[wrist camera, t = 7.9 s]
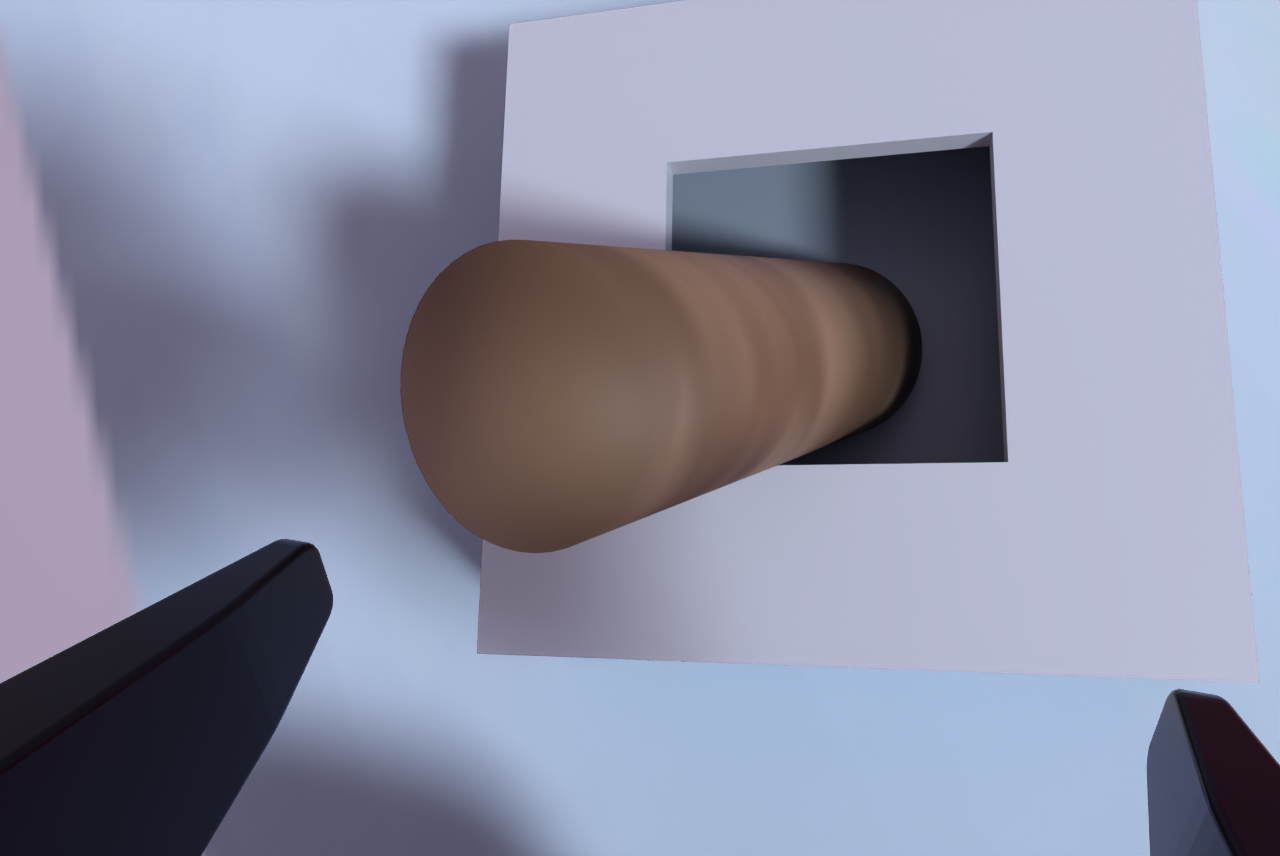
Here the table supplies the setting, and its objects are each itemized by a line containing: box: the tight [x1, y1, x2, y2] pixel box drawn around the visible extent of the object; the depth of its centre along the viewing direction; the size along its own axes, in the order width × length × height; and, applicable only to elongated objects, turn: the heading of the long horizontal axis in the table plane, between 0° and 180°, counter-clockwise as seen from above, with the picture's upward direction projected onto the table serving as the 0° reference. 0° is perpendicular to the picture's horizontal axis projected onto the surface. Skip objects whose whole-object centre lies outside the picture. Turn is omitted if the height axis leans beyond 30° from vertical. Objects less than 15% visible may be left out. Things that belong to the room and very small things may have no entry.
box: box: [477, 0, 1259, 683], centre depth 21 cm, size 14×14×5 cm
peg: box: [401, 239, 922, 553], centre depth 17 cm, size 4×4×12 cm
